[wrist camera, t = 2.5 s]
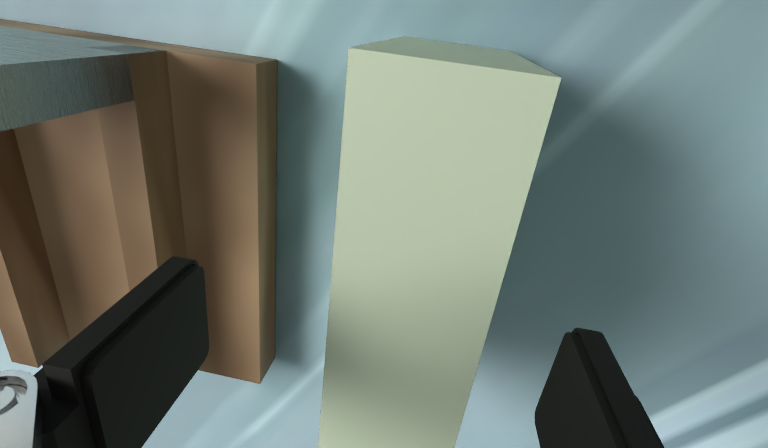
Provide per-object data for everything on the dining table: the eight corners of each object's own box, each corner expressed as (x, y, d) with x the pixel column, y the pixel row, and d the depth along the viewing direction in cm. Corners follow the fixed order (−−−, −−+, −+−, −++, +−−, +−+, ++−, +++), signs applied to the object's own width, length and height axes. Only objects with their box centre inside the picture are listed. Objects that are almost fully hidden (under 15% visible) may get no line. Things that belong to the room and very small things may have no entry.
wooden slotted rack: (277, 59, 17) (229, 68, 14) (274, 357, 24) (242, 415, 21) (-71, 8, 19) (-196, 4, 15) (22, 302, 26) (-49, 347, 22)
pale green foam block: (510, 50, 16) (561, 78, 8) (446, 325, 22) (437, 504, 13) (404, 36, 16) (349, 47, 8) (369, 309, 22) (316, 475, 14)
